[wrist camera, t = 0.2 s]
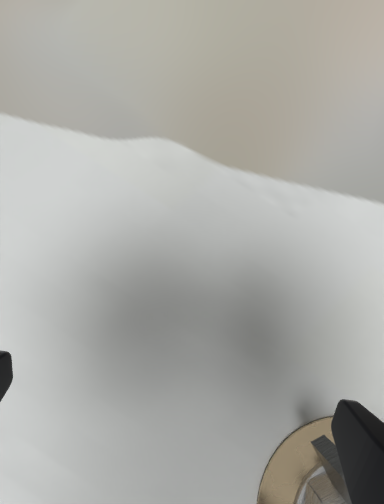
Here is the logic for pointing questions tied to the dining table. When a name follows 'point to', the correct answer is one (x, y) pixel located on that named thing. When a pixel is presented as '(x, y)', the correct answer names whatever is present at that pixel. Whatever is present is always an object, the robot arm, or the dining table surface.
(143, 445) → the dining table surface
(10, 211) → the dining table surface
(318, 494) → the moka pot
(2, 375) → the robot arm
